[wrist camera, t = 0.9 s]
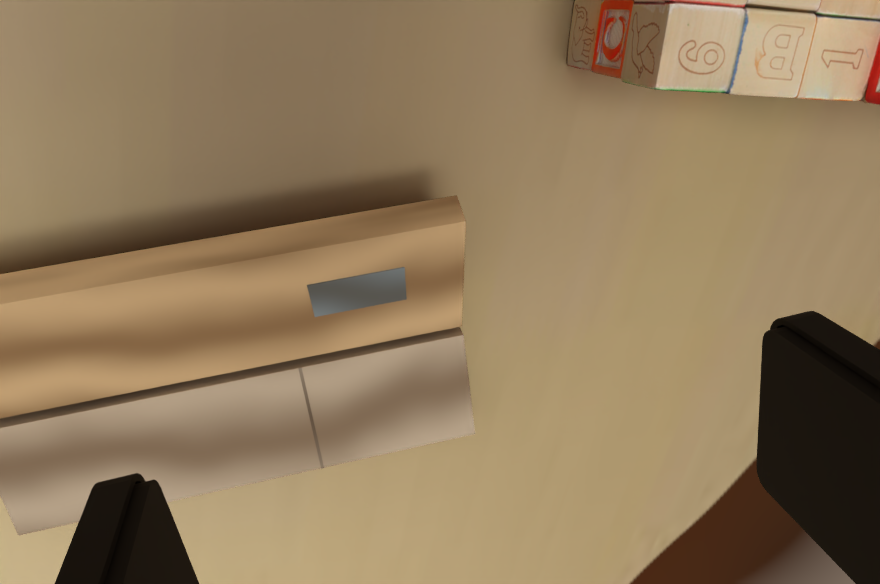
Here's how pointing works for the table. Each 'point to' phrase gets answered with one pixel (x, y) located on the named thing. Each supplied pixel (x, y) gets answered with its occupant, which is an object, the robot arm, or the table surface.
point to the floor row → (237, 426)
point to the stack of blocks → (734, 46)
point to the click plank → (228, 303)
